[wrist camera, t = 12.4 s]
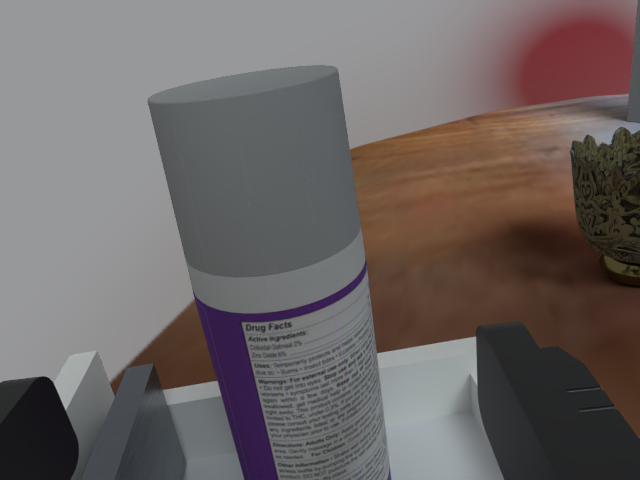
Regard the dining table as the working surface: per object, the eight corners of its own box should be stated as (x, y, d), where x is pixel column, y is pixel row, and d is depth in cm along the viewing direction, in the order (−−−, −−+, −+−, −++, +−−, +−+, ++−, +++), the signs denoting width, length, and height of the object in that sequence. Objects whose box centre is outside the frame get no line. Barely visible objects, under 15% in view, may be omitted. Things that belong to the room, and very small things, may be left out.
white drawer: (485, 400, 23) (483, 271, 21) (626, 650, 14) (653, 473, 12) (127, 463, 23) (79, 339, 20) (31, 761, 14) (-79, 605, 11)
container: (252, 494, 20) (144, 89, 14) (368, 456, 21) (313, 60, 15) (276, 618, 16) (136, 113, 10) (420, 563, 17) (373, 70, 11)
